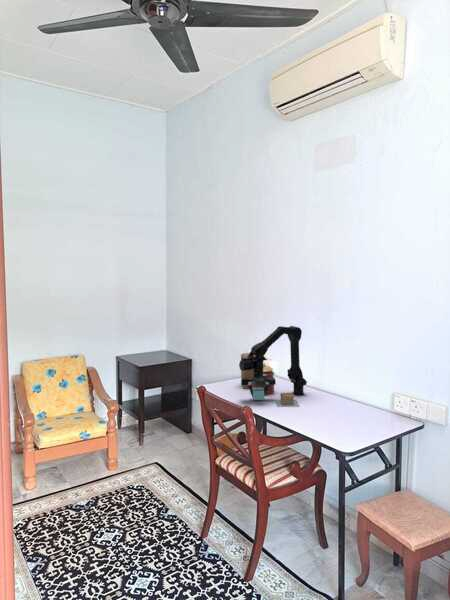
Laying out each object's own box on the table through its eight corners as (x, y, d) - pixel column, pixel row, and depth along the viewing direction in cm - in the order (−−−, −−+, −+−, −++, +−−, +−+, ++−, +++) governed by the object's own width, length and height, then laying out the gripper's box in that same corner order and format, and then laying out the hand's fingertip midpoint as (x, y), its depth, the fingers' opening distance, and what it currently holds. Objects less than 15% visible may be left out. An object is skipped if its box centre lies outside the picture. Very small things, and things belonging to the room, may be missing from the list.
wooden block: (241, 384, 275) (240, 353, 273) (256, 383, 276) (256, 352, 274) (243, 389, 265) (243, 356, 263) (259, 388, 266) (259, 356, 264)
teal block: (252, 396, 245) (252, 387, 245) (263, 396, 245) (263, 387, 245) (253, 400, 239) (253, 391, 239) (264, 399, 239) (264, 390, 239)
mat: (274, 400, 242) (274, 399, 242) (296, 400, 242) (296, 399, 242) (277, 407, 230) (277, 407, 230) (299, 407, 230) (299, 406, 230)
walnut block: (280, 401, 239) (280, 392, 239) (291, 401, 239) (291, 392, 239) (282, 405, 233) (282, 395, 233) (293, 404, 233) (293, 395, 233)
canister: (273, 389, 264) (273, 360, 262) (275, 396, 251) (275, 365, 249) (251, 389, 264) (251, 360, 262) (252, 396, 251) (252, 365, 250)
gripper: (241, 372, 233) (241, 401, 234) (276, 372, 233) (276, 400, 234) (240, 367, 244) (241, 394, 245) (274, 367, 244) (274, 394, 245)
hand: (258, 396), depth 242 cm, fingers closed on teal block, 6 cm apart
